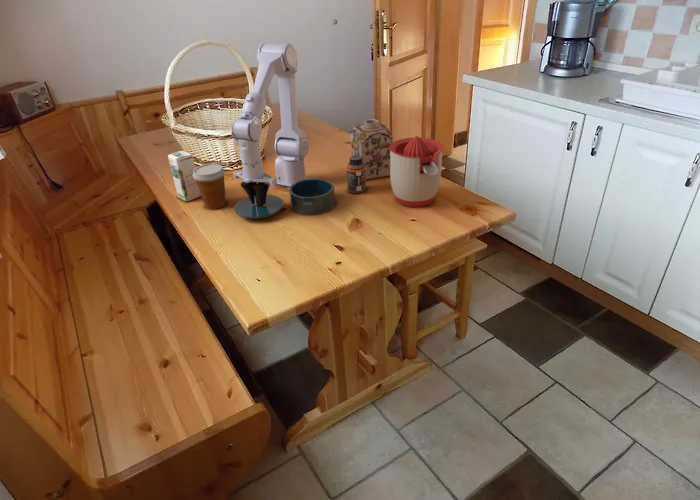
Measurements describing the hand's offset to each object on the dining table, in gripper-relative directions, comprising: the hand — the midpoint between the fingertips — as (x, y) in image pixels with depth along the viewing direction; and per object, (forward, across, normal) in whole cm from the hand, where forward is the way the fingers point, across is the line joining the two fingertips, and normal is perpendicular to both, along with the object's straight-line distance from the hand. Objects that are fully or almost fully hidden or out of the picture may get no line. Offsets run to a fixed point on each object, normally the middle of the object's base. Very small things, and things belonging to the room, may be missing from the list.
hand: (258, 203), depth 142 cm
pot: (+3, +12, +11) cm, 17 cm away
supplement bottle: (+3, +20, +25) cm, 32 cm away
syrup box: (+3, -28, -1) cm, 28 cm away
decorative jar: (+3, +18, +40) cm, 44 cm away
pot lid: (+1, 0, 0) cm, 1 cm away
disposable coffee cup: (+3, -16, -2) cm, 16 cm away
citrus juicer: (+3, +40, +26) cm, 48 cm away
